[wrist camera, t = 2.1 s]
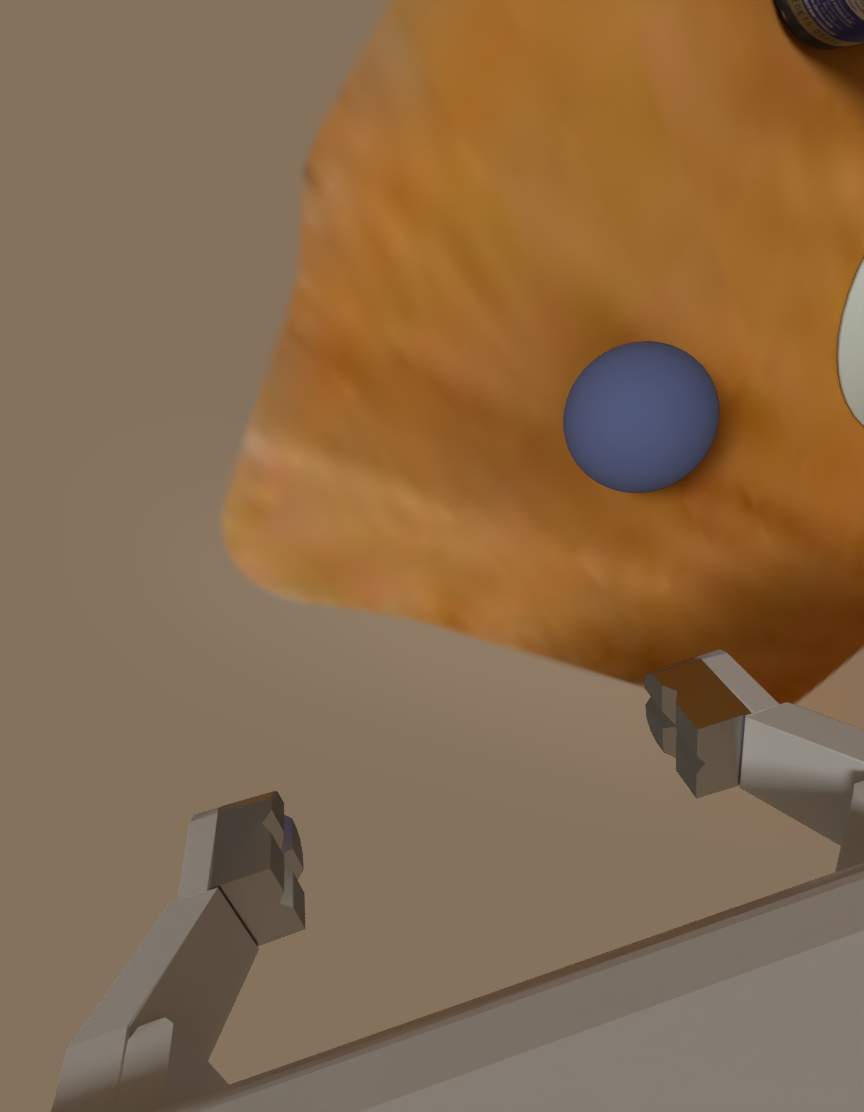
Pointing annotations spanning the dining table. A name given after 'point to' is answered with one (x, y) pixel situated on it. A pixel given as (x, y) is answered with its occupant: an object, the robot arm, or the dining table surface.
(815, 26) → the pill bottle
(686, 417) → the ball
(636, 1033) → the robot arm
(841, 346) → the disc
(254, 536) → the dining table surface
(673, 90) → the dining table surface
